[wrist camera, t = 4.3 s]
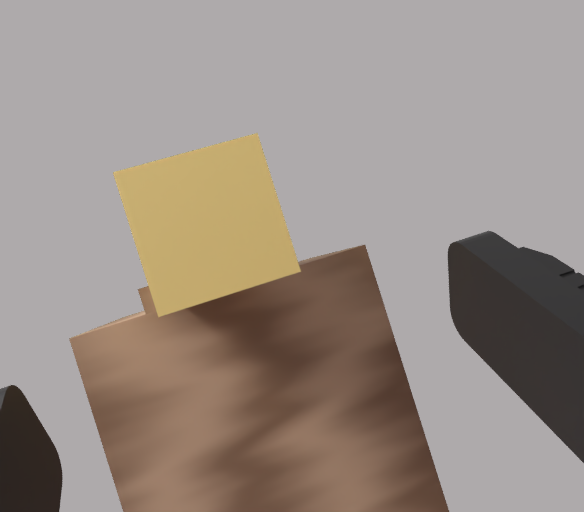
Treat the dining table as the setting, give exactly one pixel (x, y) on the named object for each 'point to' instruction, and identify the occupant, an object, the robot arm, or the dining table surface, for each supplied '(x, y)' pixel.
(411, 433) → the stand
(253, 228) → the bar
